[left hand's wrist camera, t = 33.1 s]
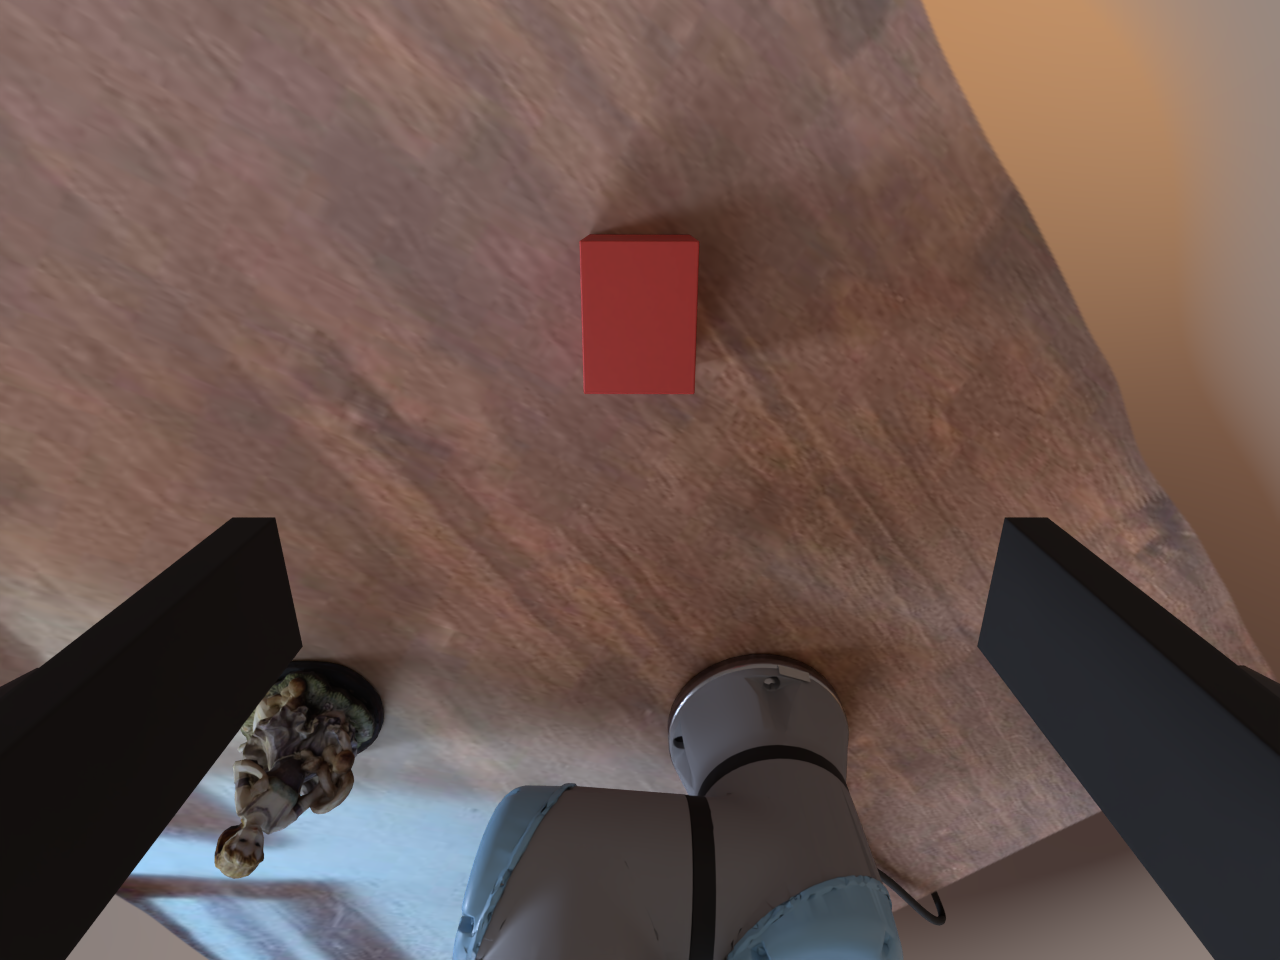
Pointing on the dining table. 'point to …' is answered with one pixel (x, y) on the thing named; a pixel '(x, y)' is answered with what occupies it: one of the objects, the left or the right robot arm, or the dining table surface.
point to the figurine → (297, 755)
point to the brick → (639, 313)
